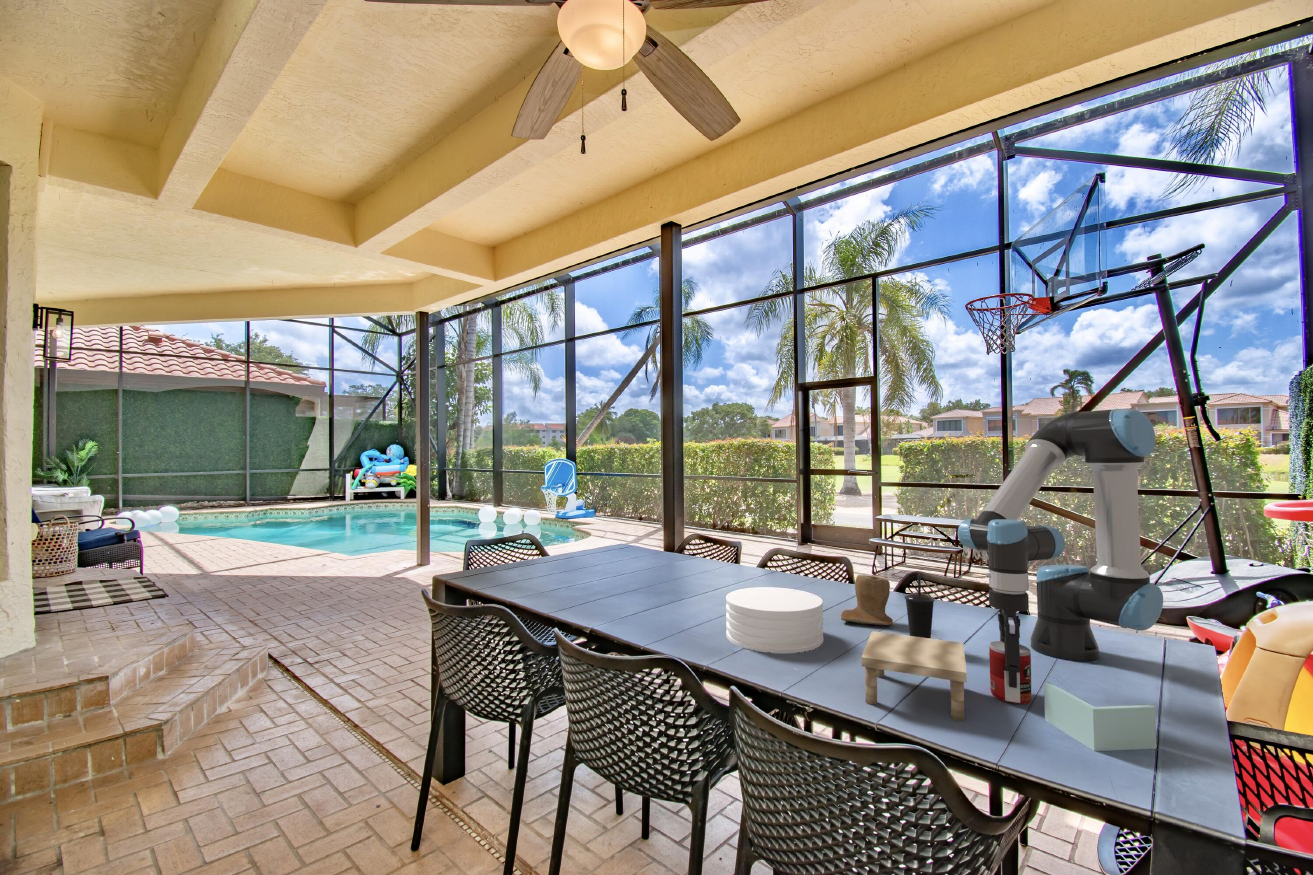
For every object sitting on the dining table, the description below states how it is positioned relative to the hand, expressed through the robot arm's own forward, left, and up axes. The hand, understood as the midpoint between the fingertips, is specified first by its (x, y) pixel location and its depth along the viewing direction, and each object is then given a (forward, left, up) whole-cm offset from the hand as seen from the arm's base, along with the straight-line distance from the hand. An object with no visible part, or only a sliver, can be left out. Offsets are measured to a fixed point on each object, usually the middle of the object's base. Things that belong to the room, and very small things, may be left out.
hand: (1010, 693), depth 126 cm
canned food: (0, 0, -1) cm, 1 cm away
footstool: (+19, +8, -1) cm, 21 cm away
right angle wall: (-13, +12, -1) cm, 18 cm away
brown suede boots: (+35, -45, -1) cm, 57 cm away
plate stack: (+58, -18, -1) cm, 61 cm away
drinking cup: (+19, -27, -1) cm, 33 cm away
